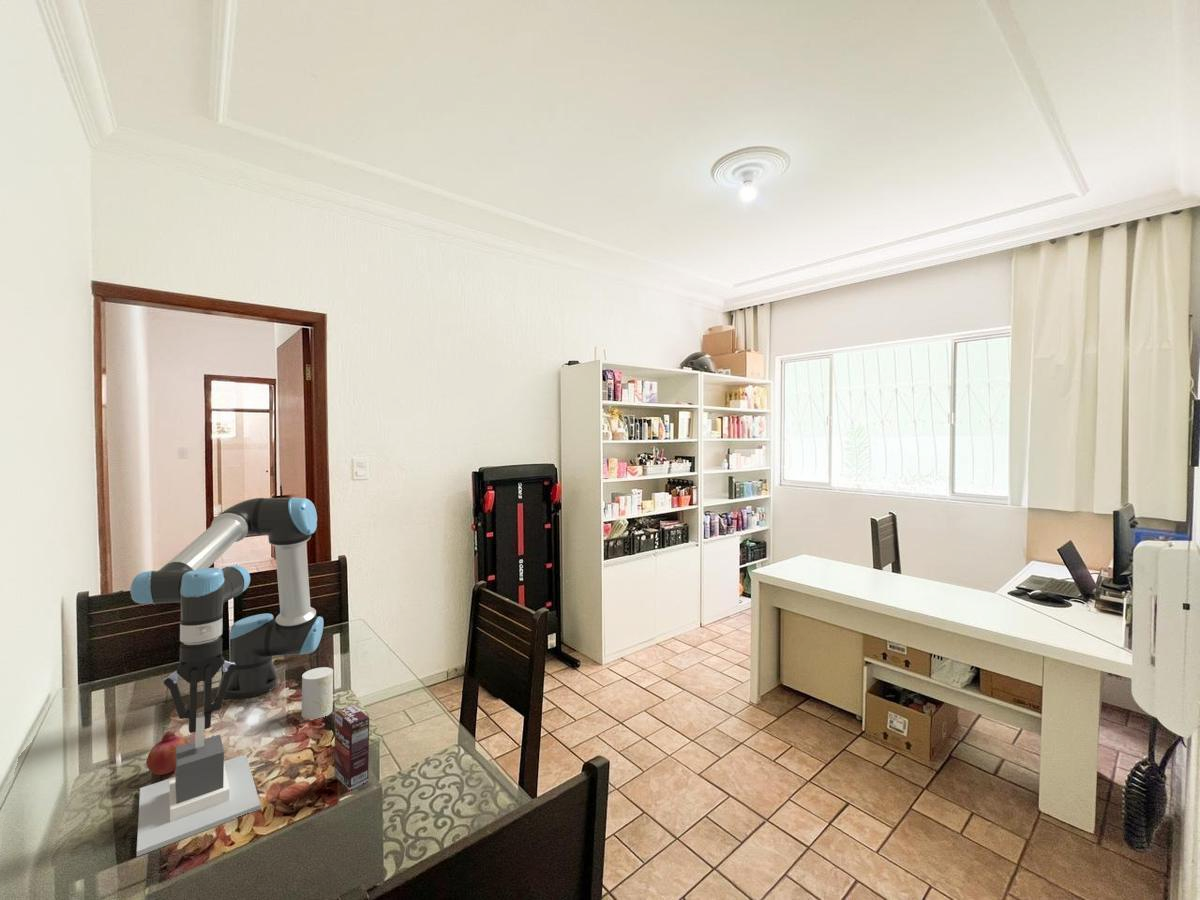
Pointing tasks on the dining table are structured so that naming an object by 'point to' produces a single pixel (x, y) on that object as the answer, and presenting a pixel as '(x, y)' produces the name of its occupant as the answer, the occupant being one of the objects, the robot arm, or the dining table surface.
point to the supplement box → (351, 747)
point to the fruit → (165, 754)
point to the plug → (199, 769)
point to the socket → (193, 807)
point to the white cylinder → (317, 693)
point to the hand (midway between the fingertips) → (199, 744)
